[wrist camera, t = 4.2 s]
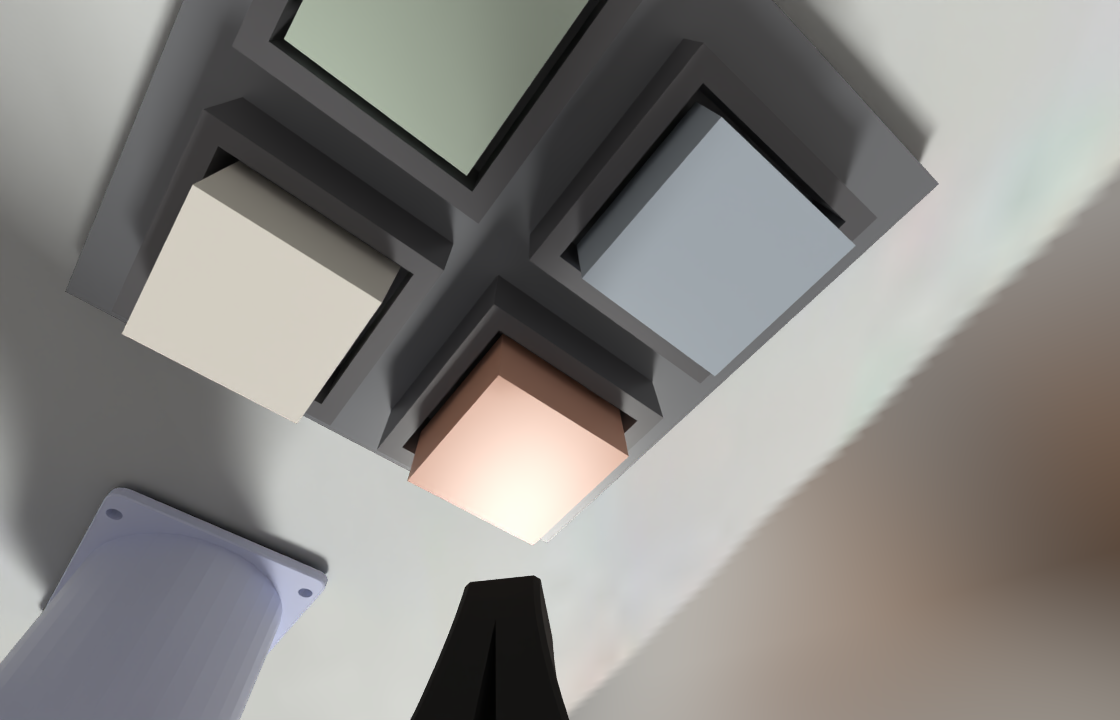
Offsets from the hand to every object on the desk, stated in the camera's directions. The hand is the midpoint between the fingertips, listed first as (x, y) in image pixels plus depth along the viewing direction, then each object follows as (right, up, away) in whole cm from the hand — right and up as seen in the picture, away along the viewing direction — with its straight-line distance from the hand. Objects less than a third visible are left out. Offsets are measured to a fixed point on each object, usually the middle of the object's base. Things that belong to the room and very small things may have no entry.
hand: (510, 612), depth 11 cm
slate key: (+4, +8, +3) cm, 9 cm away
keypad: (-1, +8, +5) cm, 10 cm away
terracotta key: (0, +3, +5) cm, 6 cm away
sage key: (-1, +12, +1) cm, 12 cm away
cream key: (-6, +7, +3) cm, 9 cm away
